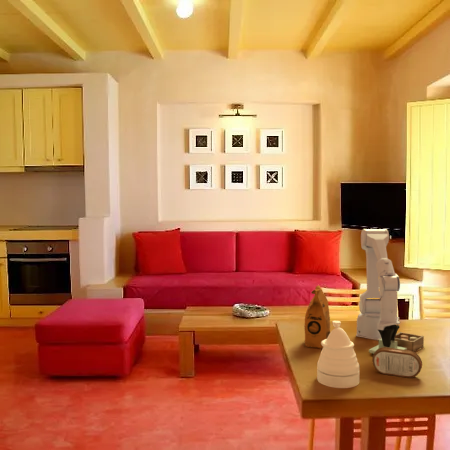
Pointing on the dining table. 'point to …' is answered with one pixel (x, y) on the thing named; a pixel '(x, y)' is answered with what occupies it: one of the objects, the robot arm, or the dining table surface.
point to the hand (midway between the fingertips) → (388, 345)
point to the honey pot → (338, 360)
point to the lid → (392, 345)
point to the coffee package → (317, 320)
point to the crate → (409, 341)
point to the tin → (397, 362)
